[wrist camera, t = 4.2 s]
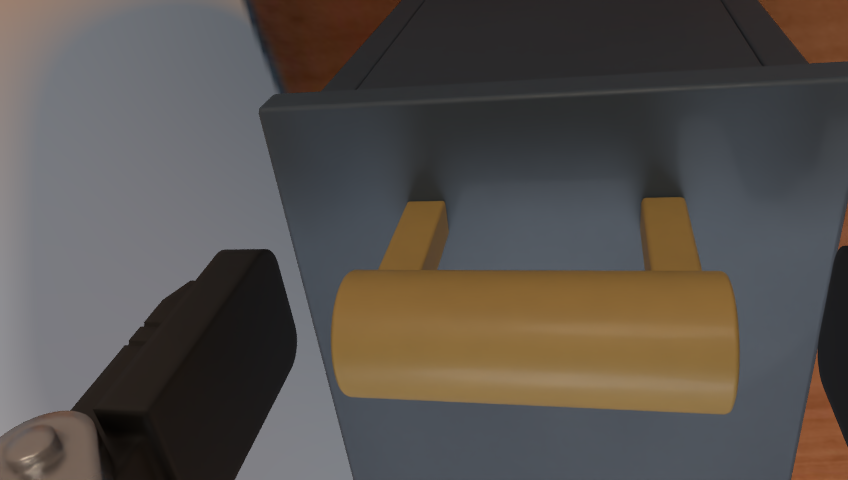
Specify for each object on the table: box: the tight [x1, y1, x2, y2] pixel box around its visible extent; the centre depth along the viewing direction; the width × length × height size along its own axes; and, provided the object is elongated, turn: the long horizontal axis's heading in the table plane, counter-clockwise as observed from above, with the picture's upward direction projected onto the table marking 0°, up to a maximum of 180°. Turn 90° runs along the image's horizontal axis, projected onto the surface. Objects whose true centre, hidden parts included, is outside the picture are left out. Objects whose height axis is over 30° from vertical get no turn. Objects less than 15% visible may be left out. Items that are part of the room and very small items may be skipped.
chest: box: [321, 0, 809, 92], centre depth 20 cm, size 12×10×12 cm
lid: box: [259, 62, 848, 480], centre depth 13 cm, size 12×10×5 cm
